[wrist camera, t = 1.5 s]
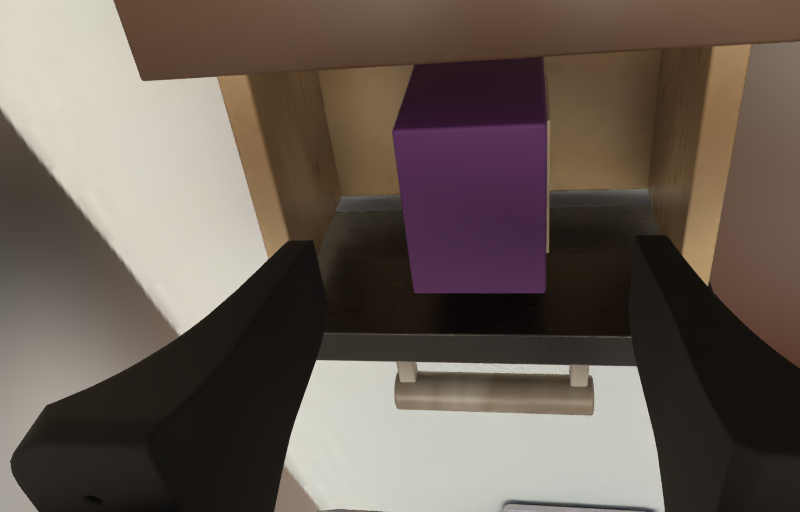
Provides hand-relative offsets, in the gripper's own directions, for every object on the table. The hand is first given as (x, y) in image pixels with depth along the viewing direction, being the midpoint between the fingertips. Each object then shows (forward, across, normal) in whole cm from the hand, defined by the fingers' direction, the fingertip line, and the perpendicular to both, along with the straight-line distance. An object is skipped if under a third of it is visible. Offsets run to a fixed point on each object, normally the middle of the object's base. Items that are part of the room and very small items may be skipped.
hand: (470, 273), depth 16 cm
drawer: (+9, 0, +2) cm, 9 cm away
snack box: (+8, 0, 0) cm, 8 cm away
